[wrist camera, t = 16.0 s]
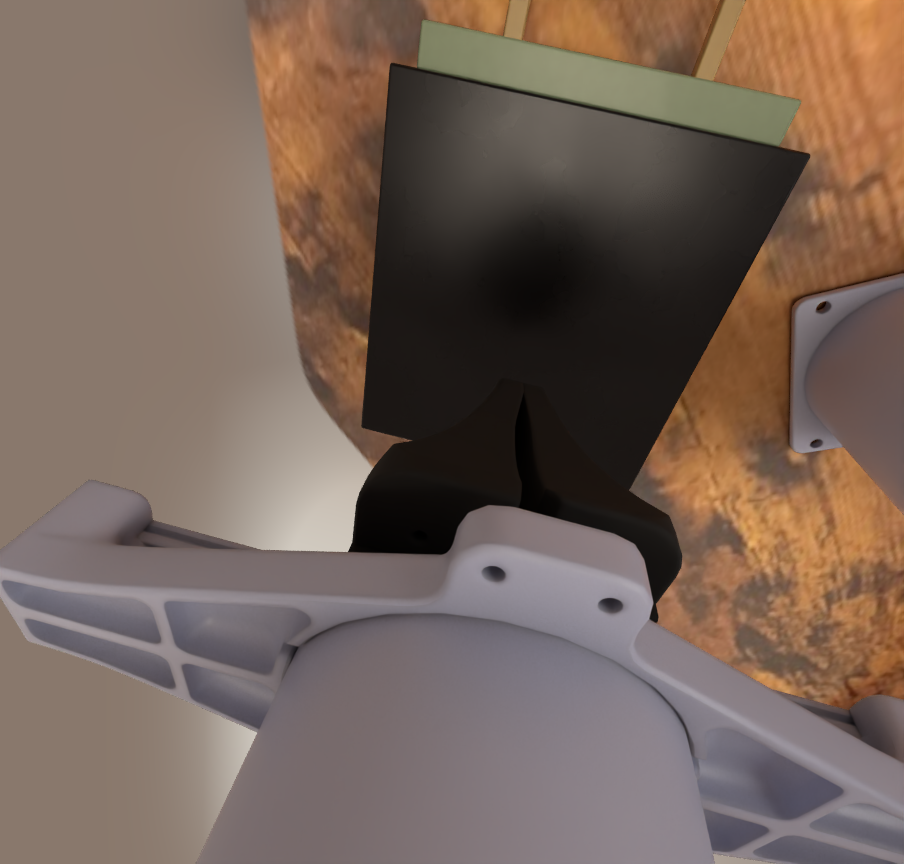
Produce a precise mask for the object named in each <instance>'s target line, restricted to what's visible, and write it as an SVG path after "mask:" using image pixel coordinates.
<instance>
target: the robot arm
mask: <svg viewBox="0 0 904 864" xmlns="http://www.w3.org/2000/svg"><path fill="white" fill-rule="evenodd" d="M823 301H826V302H827V303H826V306H825V307H824V308H823V309H821V310H816V307H817V305H818V304H819V303H821V302H823ZM816 439H819V440H818V441H817V442H815V443H811V442H812V441H813V440H816ZM789 443H790V446H791V448H792V449H793V450H794V451H795V452H797V453H807V452H814V451H821V450H827V449H834V448H841V447H844V448H845V449H846V450H847V451H848V453H849V454H850V455H851V456H852V457H853V458H854V459H855V461H856V462H857V463H858V464H859V465H860V466H861V467H862V468H863V470H864V471H865V472H866V473H867V474H868V475H869V476H870V478H871V479H872V480H873V481H874V482H875V483H876V484H877V485H878V487H879V488H880V489H881V490H882V491H883V492H884V493H885V495H886V496H887V497H888V498H889V499H890V500H891V501H892V502H893V504H894V505H895V506H896V507H897V508H898V509H899V510H900V512H901V513H902V514H903V515H904V273H902V274H898V275H894V276H889V277H885V278H881V279H877V280H873V281H869V282H865V283H860V284H856V285H852V286H848V287H844V288H840V289H836V290H831V291H827V292H823V293H819V294H815V295H811V296H807V297H804V298H801V299H800V300H798V301H797V302H796V303H795V304H794V306H793V308H792V325H791V383H790V442H789ZM681 564H682V553H681V550H680V547H679V543H678V539H677V536H676V532H675V529H674V527H673V524H672V522H671V519H670V517H669V515H667V514H666V513H664V512H662V511H660V510H659V509H657V508H655V507H654V506H652V505H650V504H649V503H647V502H645V501H643V500H642V499H640V498H639V497H637V496H636V495H634V494H633V493H631V492H630V491H629V490H627V489H626V488H624V487H623V486H622V485H620V484H619V483H618V482H617V481H615V480H614V479H613V478H612V477H610V476H609V475H608V474H607V473H606V472H605V471H604V470H602V469H601V468H600V467H599V466H598V465H597V464H596V463H595V462H594V461H593V460H592V459H591V458H590V457H589V456H588V455H587V454H586V453H585V451H584V450H583V449H582V448H581V447H580V446H579V445H578V443H577V442H576V441H575V440H574V438H573V437H572V436H571V434H570V433H569V431H568V430H567V429H566V427H565V426H564V424H563V423H562V421H561V420H560V418H559V416H558V415H557V413H556V411H555V410H554V408H553V406H552V404H551V402H550V400H549V398H548V397H547V395H546V393H545V391H544V389H543V388H541V387H537V386H533V385H530V384H526V383H522V382H518V381H514V380H510V379H506V378H502V379H500V380H499V381H498V384H497V386H496V387H495V389H494V390H493V391H492V393H491V394H490V395H489V396H488V397H487V399H486V400H485V401H484V402H483V403H482V404H481V405H480V406H479V407H478V408H476V409H475V410H474V411H473V412H472V413H471V414H469V415H468V416H467V417H466V418H464V419H463V420H461V421H460V422H458V423H457V424H455V425H453V426H452V427H450V428H448V429H446V430H444V431H442V432H440V433H438V434H435V435H432V436H429V437H426V438H423V439H419V440H414V441H409V442H403V443H396V444H394V445H392V446H391V448H390V449H389V450H388V451H387V452H386V453H385V454H384V455H383V456H382V458H381V459H380V460H379V461H378V463H377V464H376V465H375V467H374V468H373V469H372V471H371V472H370V474H369V475H368V477H367V479H366V481H365V483H364V485H363V487H362V489H361V491H360V493H359V496H358V500H357V503H356V511H355V521H354V531H353V541H352V544H351V547H350V549H349V551H348V552H317V551H281V550H280V551H279V550H260V549H256V548H253V547H249V546H245V545H241V544H238V543H234V542H231V541H227V540H223V539H220V538H216V537H212V536H209V535H205V534H201V533H198V532H194V531H190V530H187V529H183V528H179V527H176V526H172V525H168V524H165V523H161V522H157V521H154V520H153V518H152V510H151V507H150V504H149V502H148V500H147V499H146V498H145V497H144V496H142V495H141V494H139V493H137V492H135V491H133V490H128V489H125V488H121V487H118V486H114V485H110V484H107V483H103V482H99V481H96V480H88V481H86V482H85V483H84V484H83V485H81V486H80V487H79V488H78V489H76V490H75V491H74V492H73V493H71V494H70V495H69V496H68V497H66V498H65V499H64V500H62V501H61V502H60V503H59V504H58V505H56V506H55V507H54V508H52V509H51V510H50V511H49V512H47V513H46V514H45V515H44V516H42V517H41V518H40V519H38V520H37V521H36V522H35V523H34V524H32V525H31V526H30V527H29V528H27V529H26V530H25V531H23V532H22V533H21V534H20V535H18V536H17V537H16V538H15V539H13V540H12V541H11V542H10V543H8V544H7V545H6V546H4V547H3V548H2V549H1V550H0V598H1V599H2V601H3V603H4V604H5V606H6V607H7V609H8V610H9V612H10V614H11V615H12V617H13V618H14V620H15V622H16V623H17V625H18V626H19V628H20V630H21V631H22V633H23V634H24V636H25V638H26V639H27V640H28V641H29V642H32V643H36V644H39V645H42V646H45V647H49V648H52V649H55V650H58V651H62V652H65V653H68V654H71V655H74V656H77V657H80V658H83V659H85V660H88V661H91V662H93V663H96V664H99V665H102V666H104V667H107V668H110V669H112V670H115V671H117V672H119V673H122V674H124V675H127V676H129V677H132V678H134V679H137V680H139V681H141V682H144V683H146V684H148V685H151V686H153V687H155V688H157V689H160V690H162V691H164V692H166V693H169V694H171V695H173V696H175V697H178V698H180V699H182V700H185V701H187V702H189V703H191V704H194V705H196V706H198V707H201V708H203V709H205V710H207V711H210V712H212V713H214V714H217V715H219V716H221V717H223V718H226V719H228V720H230V721H232V722H235V723H237V724H239V725H242V726H244V727H246V728H248V729H251V730H253V731H256V732H257V735H256V737H255V739H254V741H253V744H252V746H251V748H250V750H249V752H248V754H247V756H246V758H245V760H244V762H243V765H242V767H241V769H240V771H239V773H238V775H237V777H236V779H235V781H234V784H233V786H232V788H231V790H230V792H229V794H228V796H227V798H226V801H225V803H224V805H223V807H222V809H221V811H220V814H219V816H218V818H217V820H216V822H215V824H214V826H213V828H212V830H211V832H210V834H209V837H208V839H207V841H206V843H205V845H204V847H203V849H202V851H201V853H200V856H199V858H198V860H197V862H196V864H715V861H714V856H713V854H719V855H724V856H731V857H737V858H744V859H750V860H757V861H763V862H770V863H776V864H904V700H902V699H899V698H895V697H891V696H887V695H872V696H868V697H865V698H863V699H861V700H860V701H858V702H857V703H856V704H855V705H854V706H852V707H851V709H850V710H846V709H842V708H838V707H835V706H831V705H827V704H824V703H820V702H816V701H813V700H809V699H805V698H802V697H798V696H794V695H791V694H787V693H783V692H780V691H776V690H772V689H770V688H768V687H767V686H765V685H763V684H761V683H760V682H758V681H756V680H754V679H753V678H751V677H749V676H747V675H746V674H744V673H742V672H740V671H739V670H737V669H735V668H733V667H732V666H730V665H728V664H726V663H725V662H723V661H721V660H719V659H718V658H716V657H714V656H712V655H711V654H709V653H707V652H705V651H704V650H702V649H700V648H698V647H697V646H695V645H693V644H691V643H690V642H688V641H686V640H684V639H683V638H681V637H679V636H677V635H676V634H674V633H672V632H670V631H669V630H667V629H665V628H664V627H662V626H660V625H658V624H657V622H658V612H657V608H656V603H657V602H658V601H659V599H660V598H661V597H662V595H663V594H664V593H665V591H666V590H667V589H668V587H669V586H670V585H671V583H672V582H673V581H674V579H675V578H676V576H677V574H678V573H679V571H680V569H681Z"/></svg>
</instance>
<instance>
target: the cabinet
mask: <svg viewBox="0 0 904 864" xmlns="http://www.w3.org/2000/svg"><path fill="white" fill-rule="evenodd" d="M809 158H810V154H809V153H804V152H800V151H795V150H791V149H786V148H781V147H777V146H772V145H768V144H763V143H759V142H754V141H749V140H745V139H740V138H736V137H731V136H727V135H722V134H717V133H713V132H708V131H704V130H699V129H694V128H690V127H685V126H681V125H676V124H672V123H667V122H662V121H658V120H653V119H649V118H644V117H640V116H635V115H630V114H626V113H621V112H617V111H612V110H607V109H603V108H598V107H594V106H589V105H585V104H580V103H575V102H571V101H566V100H562V99H557V98H553V97H548V96H543V95H539V94H534V93H530V92H525V91H520V90H516V89H511V88H507V87H502V86H498V85H493V84H488V83H484V82H479V81H475V80H470V79H466V78H461V77H456V76H452V75H447V74H443V73H438V72H433V71H429V70H424V69H420V68H415V67H411V66H406V65H401V64H397V63H391V64H390V70H389V83H388V96H387V108H386V121H385V134H384V146H383V159H382V172H381V185H380V197H379V210H378V223H377V235H376V248H375V261H374V273H373V286H372V299H371V311H370V324H369V337H368V349H367V362H366V375H365V387H364V400H363V413H362V425H361V426H362V428H365V429H369V430H373V431H376V432H380V433H384V434H388V435H392V436H396V437H400V438H404V439H408V440H412V441H414V440H419V439H423V438H426V437H429V436H432V435H435V434H438V433H440V432H442V431H444V430H446V429H448V428H450V427H452V426H453V425H455V424H457V423H458V422H460V421H461V420H463V419H464V418H466V417H467V416H468V415H469V414H471V413H472V412H473V411H474V410H475V409H476V408H478V407H479V406H480V405H481V404H482V403H483V402H484V401H485V400H486V399H487V397H488V396H489V395H490V394H491V393H492V391H493V390H494V389H495V387H496V386H497V384H498V381H499V380H500V379H502V378H506V379H510V380H514V381H518V382H522V383H526V384H530V385H533V386H537V387H541V388H543V389H544V391H545V393H546V395H547V397H548V398H549V400H550V402H551V404H552V406H553V408H554V410H555V411H556V413H557V415H558V416H559V418H560V420H561V421H562V423H563V424H564V426H565V427H566V429H567V430H568V431H569V433H570V434H571V436H572V437H573V438H574V440H575V441H576V442H577V443H578V445H579V446H580V447H581V448H582V449H583V450H584V451H585V453H586V454H587V455H588V456H589V457H590V458H591V459H592V460H593V461H594V462H595V463H596V464H597V465H598V466H599V467H600V468H601V469H602V470H604V471H605V472H606V473H607V474H608V475H609V476H610V477H612V478H613V479H614V480H615V481H617V482H618V483H619V484H620V485H622V486H623V487H624V488H626V489H627V490H629V489H630V488H631V486H632V484H633V482H634V480H635V478H636V477H637V475H638V473H639V471H640V469H641V467H642V466H643V464H644V462H645V460H646V458H647V456H648V454H649V453H650V451H651V449H652V447H653V445H654V443H655V442H656V440H657V438H658V436H659V434H660V432H661V431H662V429H663V427H664V425H665V423H666V421H667V420H668V418H669V416H670V414H671V412H672V410H673V408H674V407H675V405H676V403H677V401H678V399H679V397H680V396H681V394H682V392H683V390H684V388H685V386H686V385H687V383H688V381H689V379H690V377H691V375H692V373H693V372H694V370H695V368H696V366H697V364H698V362H699V361H700V359H701V357H702V355H703V353H704V351H705V350H706V348H707V346H708V344H709V342H710V340H711V339H712V337H713V335H714V333H715V331H716V329H717V327H718V326H719V324H720V322H721V320H722V318H723V316H724V315H725V313H726V311H727V309H728V307H729V305H730V304H731V302H732V300H733V298H734V296H735V294H736V292H737V291H738V289H739V287H740V285H741V283H742V281H743V280H744V278H745V276H746V274H747V272H748V270H749V269H750V267H751V265H752V263H753V261H754V259H755V258H756V256H757V254H758V252H759V250H760V248H761V246H762V245H763V243H764V241H765V239H766V237H767V235H768V234H769V232H770V230H771V228H772V226H773V224H774V223H775V221H776V219H777V217H778V215H779V213H780V211H781V210H782V208H783V206H784V204H785V202H786V200H787V199H788V197H789V195H790V193H791V191H792V189H793V188H794V186H795V184H796V182H797V180H798V178H799V177H800V175H801V173H802V171H803V169H804V167H805V165H806V164H807V162H808V160H809Z"/></svg>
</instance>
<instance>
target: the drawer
mask: <svg viewBox="0 0 904 864" xmlns="http://www.w3.org/2000/svg"><path fill="white" fill-rule="evenodd" d="M745 1H746V0H720V1H719V3H718V6H717V9H716V11H715V14H714V16H713V19H712V22H711V24H710V27H709V30H708V32H707V35H706V37H705V40H704V43H703V45H702V48H701V51H700V53H699V56H698V58H697V61H696V64H695V66H694V69H693V72H692V74H691V76H687V75H682V74H678V73H673V72H668V71H664V70H659V69H654V68H650V67H645V66H640V65H636V64H631V63H626V62H622V61H617V60H612V59H608V58H603V57H598V56H594V55H589V54H584V53H580V52H575V51H570V50H566V49H561V48H556V47H552V46H547V45H542V44H538V43H533V42H528V41H524V40H523V37H524V32H525V27H526V22H527V17H528V12H529V8H530V3H531V0H509V6H508V11H507V17H506V22H505V27H504V33H503V36H500V35H495V34H491V33H486V32H481V31H477V30H472V29H467V28H463V27H458V26H453V25H449V24H444V23H439V22H435V21H430V20H425V19H424V20H422V22H421V32H420V41H419V51H418V60H417V68H420V69H424V70H429V71H433V72H438V73H443V74H447V75H452V76H456V77H461V78H466V79H470V80H475V81H479V82H484V83H488V84H493V85H498V86H502V87H507V88H511V89H516V90H520V91H525V92H530V93H534V94H539V95H543V96H548V97H553V98H557V99H562V100H566V101H571V102H575V103H580V104H585V105H589V106H594V107H598V108H603V109H607V110H612V111H617V112H621V113H626V114H630V115H635V116H640V117H644V118H649V119H653V120H658V121H662V122H667V123H672V124H676V125H681V126H685V127H690V128H694V129H699V130H704V131H708V132H713V133H717V134H722V135H727V136H731V137H736V138H740V139H745V140H749V141H754V142H759V143H763V144H768V145H772V146H777V147H778V146H779V145H780V144H781V142H782V140H783V138H784V136H785V134H786V132H787V130H788V128H789V126H790V124H791V122H792V120H793V118H794V116H795V114H796V112H797V110H798V108H799V106H800V104H801V101H800V100H799V99H795V98H790V97H785V96H781V95H776V94H771V93H767V92H762V91H757V90H752V89H748V88H743V87H738V86H734V85H729V84H724V83H720V82H715V81H713V80H714V78H715V75H716V73H717V70H718V68H719V65H720V63H721V60H722V58H723V55H724V53H725V51H726V48H727V46H728V43H729V41H730V38H731V36H732V33H733V31H734V28H735V26H736V23H737V21H738V18H739V16H740V13H741V11H742V9H743V6H744V4H745Z"/></svg>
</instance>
